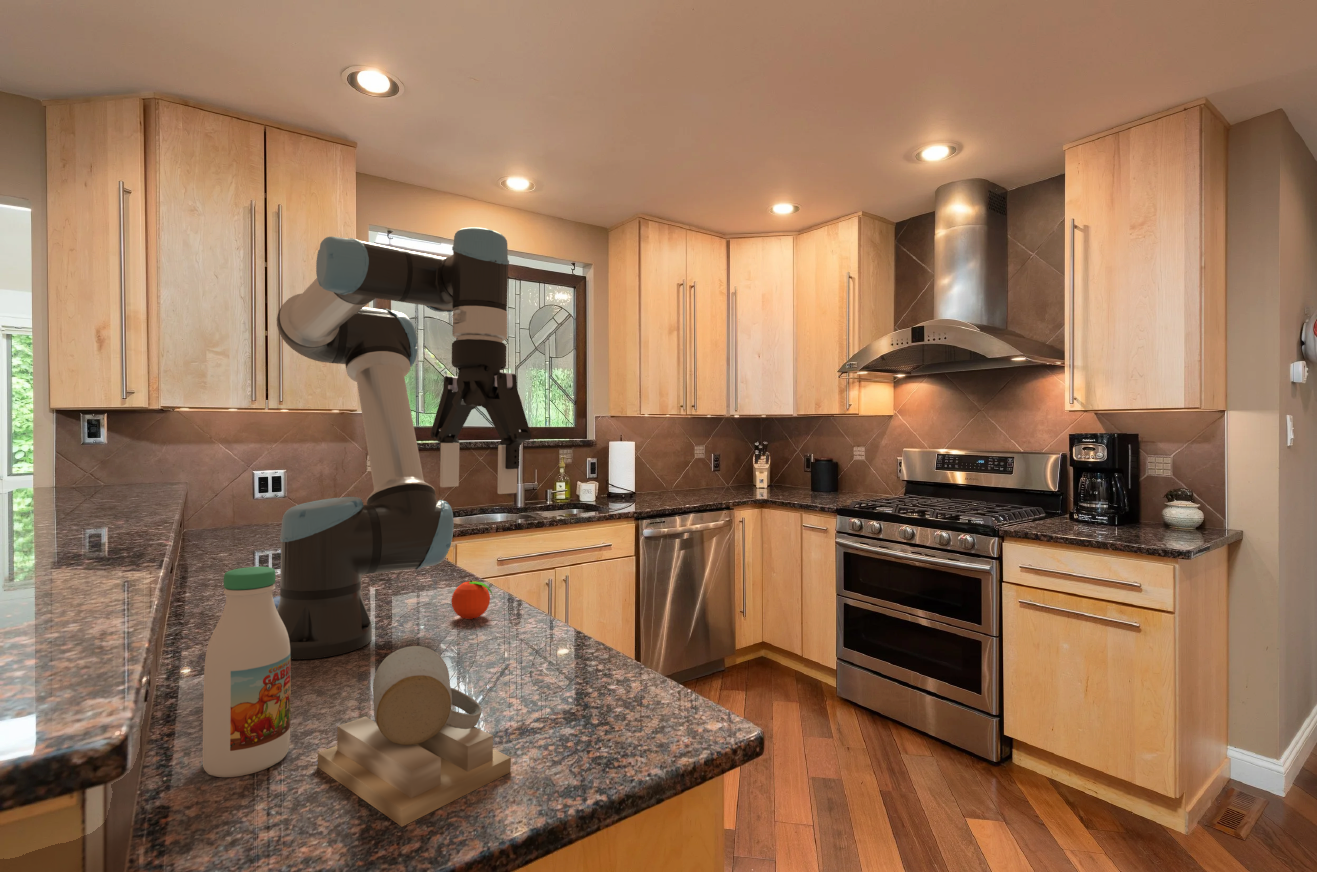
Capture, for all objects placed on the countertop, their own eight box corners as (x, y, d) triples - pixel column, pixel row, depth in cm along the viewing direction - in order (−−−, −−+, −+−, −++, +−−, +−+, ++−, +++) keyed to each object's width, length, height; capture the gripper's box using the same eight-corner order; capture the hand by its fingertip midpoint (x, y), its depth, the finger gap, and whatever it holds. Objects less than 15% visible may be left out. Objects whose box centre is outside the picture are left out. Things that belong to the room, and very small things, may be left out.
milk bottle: (193, 786, 63) (196, 580, 63) (212, 750, 70) (214, 565, 70) (284, 770, 66) (287, 574, 66) (293, 737, 73) (296, 560, 73)
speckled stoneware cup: (372, 756, 61) (375, 674, 61) (371, 721, 68) (374, 648, 68) (487, 738, 65) (490, 662, 65) (474, 706, 73) (476, 638, 73)
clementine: (501, 615, 123) (502, 577, 123) (483, 625, 117) (484, 586, 117) (463, 612, 125) (464, 575, 125) (443, 621, 118) (444, 583, 118)
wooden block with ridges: (317, 766, 67) (318, 728, 67) (422, 726, 76) (423, 692, 76) (401, 826, 57) (402, 781, 57) (510, 771, 66) (511, 732, 66)
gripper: (408, 344, 97) (405, 485, 97) (514, 330, 81) (511, 498, 82) (451, 349, 103) (449, 482, 103) (559, 337, 87) (556, 494, 87)
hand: (477, 490), depth 92 cm, fingers open, 13 cm apart
